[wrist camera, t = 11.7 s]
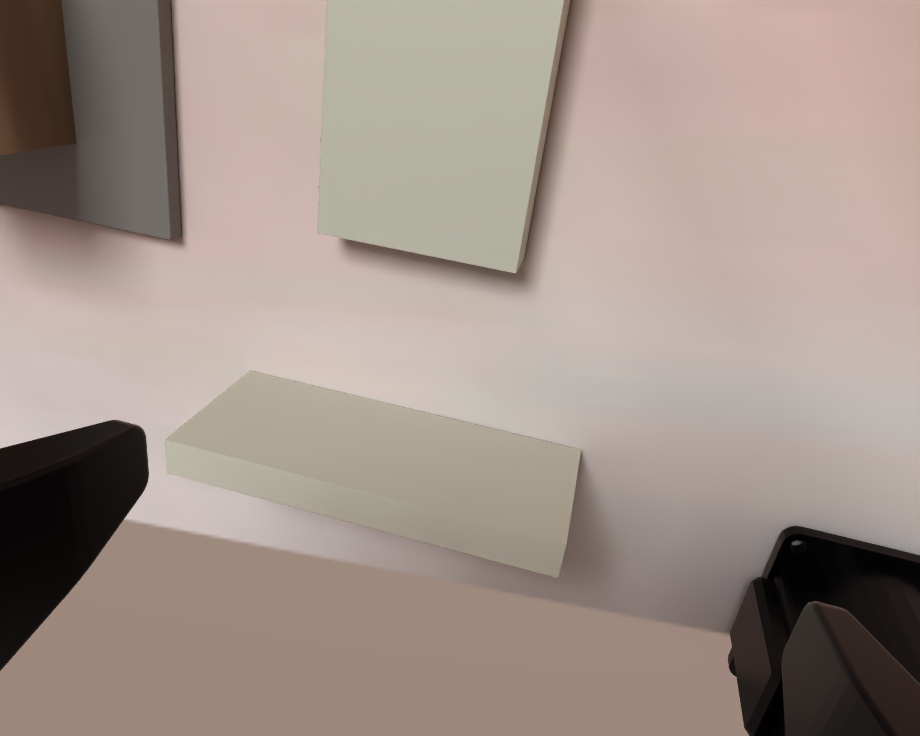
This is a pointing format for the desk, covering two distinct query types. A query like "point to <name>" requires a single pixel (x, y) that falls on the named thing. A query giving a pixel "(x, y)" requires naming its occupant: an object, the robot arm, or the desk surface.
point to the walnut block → (34, 77)
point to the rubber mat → (110, 125)
